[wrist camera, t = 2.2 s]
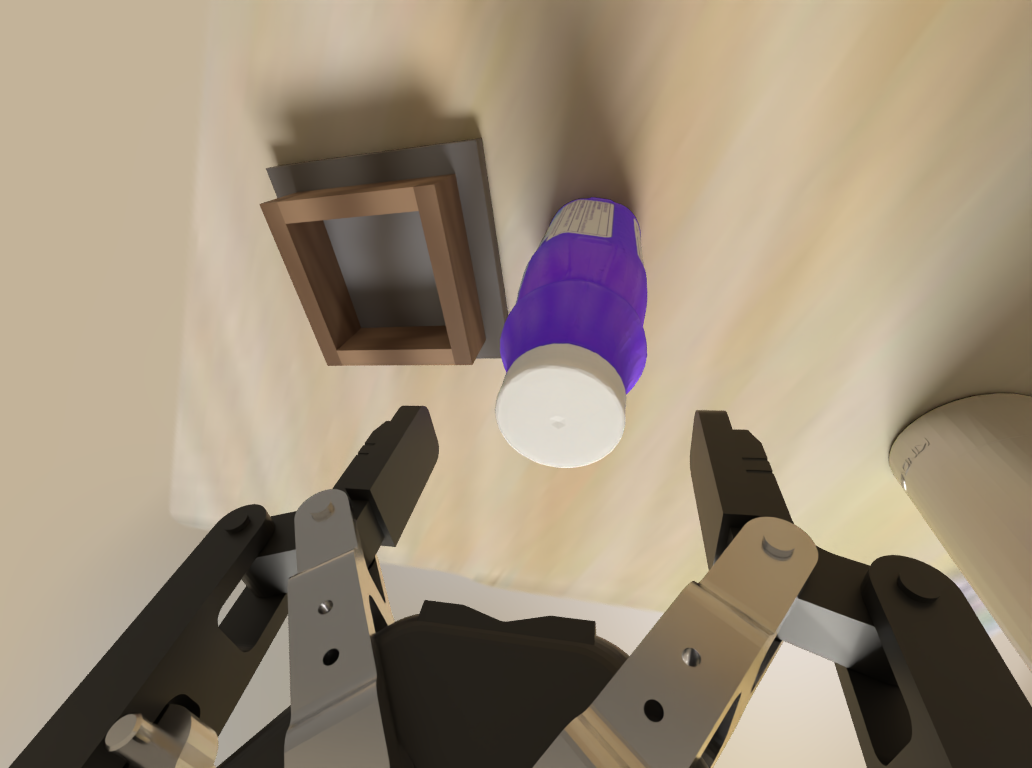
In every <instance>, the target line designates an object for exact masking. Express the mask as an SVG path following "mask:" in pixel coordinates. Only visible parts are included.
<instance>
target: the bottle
mask: <svg viewBox="0 0 1032 768" xmlns="http://www.w3.org/2000/svg"><path fill="white" fill-rule="evenodd" d="M646 306H647V278H646V272H645V269H644V264H643V256H642V247H641V233H640V227H639V224H638V221H637V219H636V217H635V216H634V214H633V213H632V212H631V211H630V210H629V209H628V208H627V207H625V206H623V205H621V204H619V203H615V202H613V201H612V200H609V199H602V198H595V197H591V198H587V199H576V200H574V201H571V202H569V203H567V204H566V205H564V206H563V207H562V208H561V209H560V210H559V211H558V212H557V213H556V215H555V216H554V218H553V219H552V221H551V223H550V226H549V229H548V230H547V232H546V234H545V236H544V238H543V240H542V241H541V243H540V246H539V247H538V249H537V251H536V252H535V253H534V255H533V256H532V258H531V260H530V261H529V263H528V264H527V267H526V269H525V272H524V275H523V278H522V281H521V285H520V289H519V292H518V297H517V301H516V305H515V306H514V308H513V309H512V311H511V312H510V314H509V315H508V317H507V319H506V322H505V324H504V327H503V330H502V334H501V338H500V354H501V358H502V361H503V364H504V368H505V370H506V372H507V373H506V375H505V378H504V381H503V384H502V386H501V389H500V391H499V393H498V396H497V400H496V407H495V414H496V420H497V424H498V427H499V429H500V431H501V433H502V434H503V436H504V438H505V439H506V441H507V442H508V443H509V444H510V445H511V446H512V447H513V448H514V449H515V450H516V451H518V452H519V453H520V454H522V455H523V456H525V457H526V458H528V459H531V460H533V461H535V462H537V463H540V464H543V465H547V466H553V467H560V468H573V467H580V466H585V465H589V464H591V463H594V462H596V461H598V460H600V459H602V458H603V457H605V456H606V455H607V454H609V453H610V452H611V451H612V450H613V449H614V448H615V447H616V445H617V444H618V443H619V441H620V439H621V437H622V435H623V432H624V428H625V409H626V394H627V393H628V392H629V391H630V390H631V389H632V388H633V387H634V385H635V384H636V382H637V381H638V379H639V378H640V376H641V375H642V372H643V369H644V367H645V363H646V358H647V343H646V338H645V333H644V329H643V323H644V318H645V312H646Z"/></svg>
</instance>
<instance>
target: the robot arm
mask: <svg viewBox="0 0 1032 768" xmlns="http://www.w3.org/2000/svg"><path fill="white" fill-rule="evenodd" d="M438 454H439V445H438V440H437V437H436V434H435V430H434V427H433V424H432V420H431V417H430V414H429V411H428V409H427V407H425V406H401V407H400V408H399V409H398V411H397V412H396V414H395V415H394V417H393V418H392V420H391V421H386V422H384V423H383V424H382V425H381V426H379V427H378V428H377V429H376V430H374V431H373V432H372V434H371V435H370V436H369V438H368V439H367V441H366V442H365V445H363V446H362V448H361V449H360V451H359V452H358V455H356V456H355V458H354V459H353V460H352V462H351V463H350V465H349V466H348V467H347V469H346V470H345V472H344V473H343V475H342V476H341V477H340V479H339V480H338V482H337V483H336V484H335V486H334V487H333V489H329V490H324V491H321V492H319V493H317V494H314V495H313V496H311V497H310V498H308V499H307V500H306V501H305V502H303V503H302V505H301V506H300V507H299V508H298V510H297V511H295V512H290V513H285V514H280V515H276V516H271V517H270V516H269V514H268V512H267V511H266V509H265V508H264V507H263V506H261V505H256V504H252V505H246V506H243V507H240V508H238V509H236V510H234V511H232V512H230V513H228V514H227V515H226V516H224V517H223V518H222V519H221V520H220V521H219V522H218V523H217V524H216V525H215V526H214V527H213V528H212V529H211V531H210V532H209V533H208V534H207V535H206V537H205V538H204V539H203V540H202V541H201V543H200V544H199V545H198V546H197V547H196V548H195V549H194V551H193V552H192V553H191V554H190V556H188V558H187V559H186V560H185V561H184V562H183V564H182V565H181V566H180V567H179V568H178V569H177V571H176V572H175V573H174V574H173V575H172V576H171V578H170V579H169V580H168V581H167V582H166V584H165V585H164V586H163V587H162V588H161V589H160V591H159V592H158V593H157V594H156V595H155V596H154V598H153V599H152V600H151V601H150V602H149V603H148V605H147V606H146V607H145V608H144V609H143V611H142V612H141V613H140V614H139V615H138V616H137V618H136V619H135V620H134V621H133V622H132V623H131V625H130V626H129V627H128V628H127V629H126V631H125V632H124V633H123V634H122V635H121V636H120V638H119V639H118V640H117V641H116V642H115V643H114V645H113V646H112V647H111V648H110V650H108V652H107V653H106V654H105V655H104V656H103V657H102V659H101V660H100V661H99V662H98V663H97V665H96V666H95V667H94V668H93V669H92V670H91V672H90V673H89V674H88V675H87V676H86V678H85V679H84V680H83V681H82V682H81V683H80V684H79V686H78V687H77V688H76V689H75V690H74V692H73V693H72V694H71V695H70V696H69V697H68V699H67V700H66V701H65V702H64V703H63V704H62V706H61V707H60V708H59V709H58V710H57V712H56V713H55V714H54V715H53V716H52V717H51V719H50V720H49V721H48V722H47V723H46V724H45V726H44V727H43V728H42V729H41V730H40V732H39V733H38V734H37V735H36V736H35V737H34V738H33V740H32V741H31V742H30V743H29V744H28V746H27V747H26V748H25V749H24V750H23V751H22V753H21V754H20V755H19V756H18V757H17V758H16V760H15V761H14V762H13V763H12V764H11V766H10V767H9V768H713V767H714V765H715V763H716V762H717V760H718V758H719V756H720V755H721V753H722V751H723V749H724V748H725V746H726V744H727V742H728V741H729V739H730V737H731V735H732V734H733V732H734V730H735V728H736V726H737V724H738V722H739V720H740V718H741V716H742V714H743V712H744V710H745V708H746V706H747V704H748V702H749V700H750V698H751V697H752V695H753V693H754V691H755V690H756V688H757V686H758V685H759V683H760V681H761V680H762V678H763V676H764V674H765V673H766V671H767V669H768V667H769V666H770V664H771V662H772V660H773V659H774V657H775V655H776V654H777V652H778V650H779V648H780V647H781V645H782V643H783V641H785V642H788V643H790V644H792V645H795V646H797V647H799V648H802V649H804V650H807V651H809V652H812V653H814V654H816V655H819V656H821V657H823V658H826V659H828V660H831V661H833V662H834V663H835V666H836V670H837V673H838V676H839V679H840V682H841V686H842V689H843V692H844V695H845V698H846V701H847V705H848V708H849V711H850V714H851V718H852V721H853V724H854V727H855V730H856V733H857V737H858V740H859V743H860V746H861V750H862V753H863V756H864V759H865V762H866V766H867V768H1032V707H1031V705H1030V703H1029V702H1028V700H1027V698H1026V697H1025V695H1024V694H1023V692H1022V690H1021V689H1020V687H1019V685H1018V684H1017V682H1016V680H1015V679H1014V677H1013V675H1012V674H1011V672H1010V670H1009V669H1008V667H1007V666H1006V664H1005V662H1004V660H1003V659H1002V657H1001V655H1000V654H999V652H998V651H997V649H996V647H995V646H994V644H993V642H992V641H991V639H990V637H989V636H988V634H987V632H986V631H985V629H984V627H983V626H982V624H981V622H980V621H979V619H978V617H977V616H976V614H975V612H974V611H973V609H972V607H971V606H970V604H969V602H968V601H967V599H966V598H965V596H964V594H963V593H962V591H961V590H960V589H959V588H958V586H957V585H956V584H955V583H954V582H953V581H952V580H950V579H949V578H948V577H947V576H946V575H944V574H943V573H942V572H940V571H939V570H937V569H935V568H934V567H932V566H930V565H928V564H926V563H924V562H921V561H919V560H916V559H913V558H909V557H905V556H899V555H888V556H883V557H880V558H878V559H876V560H875V561H874V562H873V563H872V564H871V566H869V565H866V564H863V563H860V562H857V561H853V560H850V559H847V558H844V557H841V556H838V555H835V554H832V553H829V552H827V551H825V550H823V549H821V548H819V547H818V546H816V545H815V543H814V542H813V540H812V539H811V538H810V536H809V535H808V534H807V533H806V532H804V531H803V530H802V529H801V528H799V527H798V526H796V525H794V523H793V521H792V519H791V516H790V514H789V511H788V509H787V506H786V504H785V501H784V499H783V496H782V494H781V491H780V489H779V486H778V484H777V481H776V479H775V476H774V474H772V469H771V466H770V463H769V461H767V456H766V453H765V451H764V448H763V446H762V443H761V442H760V441H759V440H758V439H757V438H755V437H754V436H753V435H752V434H751V433H750V432H749V431H748V430H732V427H731V424H730V421H729V417H728V415H727V412H726V411H709V410H697V411H696V412H695V417H694V425H693V433H692V442H691V450H690V470H691V477H692V482H693V487H694V493H695V498H696V504H697V509H698V514H699V520H700V525H701V530H702V536H703V541H704V547H705V552H706V557H707V563H708V568H709V571H708V573H707V574H706V575H705V577H704V578H703V579H702V580H701V581H700V582H699V583H697V582H695V581H692V582H691V583H689V584H688V585H687V586H686V587H685V588H684V589H683V590H682V592H681V593H680V594H679V595H678V597H677V598H676V599H675V600H674V602H673V603H672V604H671V605H670V607H669V608H668V609H667V610H666V612H665V613H664V614H663V615H662V617H661V618H660V619H659V620H658V622H657V623H656V624H655V625H654V627H653V628H652V629H651V630H650V632H649V633H648V634H647V635H646V637H645V638H644V639H643V640H642V642H641V643H640V644H639V645H638V647H637V648H636V649H635V650H634V652H633V653H632V654H631V655H630V656H629V655H628V654H627V653H625V652H624V651H623V650H621V649H620V648H619V647H617V646H616V645H614V644H612V643H611V642H609V641H607V640H605V639H603V638H601V637H598V636H596V626H595V625H596V624H595V621H588V620H580V619H571V618H564V617H556V616H546V617H538V618H531V619H524V620H516V621H509V622H503V621H499V620H497V619H495V618H492V617H490V616H488V615H486V614H483V613H481V612H479V611H476V610H474V609H472V608H470V607H467V606H465V605H459V604H451V603H443V602H436V601H428V600H425V601H424V603H423V606H422V609H421V611H420V614H416V615H412V616H409V617H405V618H403V619H400V620H399V621H396V622H395V621H394V618H393V615H392V612H391V608H390V604H389V600H388V596H387V592H386V588H385V584H384V580H383V576H382V572H381V568H380V564H379V560H378V557H377V555H376V553H377V551H378V550H379V548H380V546H392V547H396V545H397V543H398V541H399V539H400V537H401V534H402V532H403V530H404V528H405V526H406V524H407V522H408V520H409V518H410V516H411V514H412V512H413V510H414V508H415V505H416V503H417V501H418V499H419V497H420V495H421V493H422V491H423V489H424V487H425V485H426V483H427V481H428V479H429V476H430V474H431V472H432V470H433V468H434V466H435V464H436V462H437V459H438ZM889 463H890V468H891V470H892V472H893V475H894V476H895V478H896V479H897V480H898V482H899V483H900V485H901V486H902V488H903V489H904V490H905V492H906V493H907V495H908V496H909V498H910V499H911V500H912V502H913V503H914V505H915V506H916V508H917V509H918V511H919V512H920V513H921V515H922V517H923V518H924V520H925V521H926V522H927V524H928V525H929V527H930V528H931V530H932V531H933V532H934V534H935V535H936V537H937V538H938V540H939V541H940V542H941V544H942V545H943V547H944V548H945V550H946V551H947V552H948V554H949V555H950V557H951V558H952V560H953V561H954V562H955V564H956V565H957V567H958V568H959V570H960V571H961V572H962V574H963V575H964V577H965V578H966V580H967V581H968V583H969V584H970V585H971V587H972V588H973V590H974V591H975V593H976V594H977V595H978V597H979V598H980V600H981V601H982V603H983V604H984V605H985V607H986V608H987V610H988V611H989V613H990V614H991V615H992V617H993V618H994V620H995V621H996V623H997V624H998V625H999V627H1000V628H1001V630H1002V631H1003V633H1004V634H1005V635H1006V637H1007V638H1008V640H1009V641H1010V643H1011V644H1012V645H1013V647H1014V648H1015V650H1016V651H1017V653H1018V654H1019V655H1020V657H1021V658H1022V660H1023V661H1024V663H1025V664H1026V665H1027V667H1028V668H1029V670H1030V671H1031V672H1032V397H1031V396H1025V395H1020V394H1000V393H995V394H987V395H978V396H973V397H969V398H965V399H960V400H956V401H954V402H951V403H948V404H946V405H943V406H940V407H938V408H936V409H934V410H932V411H930V412H928V413H926V414H924V415H922V416H921V417H920V418H918V419H917V420H915V421H914V422H913V423H911V424H910V425H909V426H908V427H907V428H906V429H905V430H904V431H903V432H902V433H901V434H900V435H899V436H898V437H897V439H896V441H895V442H894V444H893V445H892V448H891V452H890V455H889ZM241 579H242V581H243V582H244V583H245V584H246V588H245V589H244V590H243V592H242V593H241V595H240V596H239V598H238V599H237V601H236V602H235V603H234V605H233V606H232V608H231V609H230V611H229V612H228V614H227V615H226V617H225V618H224V620H223V621H222V622H221V624H220V625H219V627H218V615H219V612H220V609H221V608H222V606H223V605H224V603H225V602H226V600H227V599H228V597H229V596H230V595H231V593H232V592H233V590H234V589H235V587H236V586H237V585H238V583H239V582H240V580H241ZM287 615H288V624H289V659H290V696H291V705H290V706H289V707H288V708H287V709H285V710H284V711H283V712H282V713H281V714H279V715H278V716H277V717H276V718H275V719H274V720H272V721H271V722H270V723H269V724H268V725H267V726H265V727H264V728H263V729H262V730H261V731H259V732H258V733H257V734H256V735H255V736H253V737H252V738H251V739H250V740H249V741H248V742H246V743H245V744H244V745H243V746H241V747H240V748H239V749H238V750H237V751H236V752H234V753H233V754H232V755H231V756H230V757H228V758H227V759H226V760H225V761H224V762H223V763H222V764H220V765H219V766H218V767H215V765H214V762H215V759H216V756H217V751H218V736H219V734H220V733H221V731H222V729H223V727H224V726H225V724H226V722H227V720H228V719H229V717H230V715H231V713H232V712H233V710H234V708H235V706H236V705H237V703H238V701H239V699H240V698H241V696H242V694H243V692H244V690H245V689H246V687H247V685H248V683H249V682H250V680H251V678H252V676H253V675H254V673H255V671H256V669H257V668H258V666H259V664H260V662H261V661H262V659H263V657H264V655H265V654H266V652H267V650H268V648H269V646H270V645H271V643H272V641H273V639H274V638H275V636H276V634H277V632H278V631H279V629H280V627H281V625H282V624H283V622H284V620H285V618H286V617H287Z"/></svg>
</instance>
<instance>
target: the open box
mask: <svg viewBox="0 0 1032 768" xmlns="http://www.w3.org/2000/svg"><path fill="white" fill-rule="evenodd" d="M266 170H267V173H268V175H269V178H270V180H271V183H272V185H273V188H274V190H275V193H276V195H277V199H274V200H271V201H268V202H265V203H262V204H260V206H261V209H262V211H263V214H264V216H265V218H266V221H267V223H268V225H269V228H270V230H271V233H272V235H273V237H274V240H275V242H276V244H277V247H278V249H279V251H280V254H281V256H282V259H283V261H284V263H285V266H286V268H287V270H288V273H289V275H290V278H291V280H292V282H293V285H294V287H295V289H296V292H297V294H298V296H299V299H300V301H301V304H302V306H303V308H304V311H305V313H306V315H307V318H308V320H309V322H310V325H311V327H312V330H313V332H314V334H315V337H316V339H317V341H318V344H319V346H320V349H321V351H322V353H323V356H324V358H325V360H326V363H327V365H328V366H343V365H473V363H474V361H475V359H476V358H501V354H500V338H501V334H502V330H503V327H504V324H505V322H506V319H507V317H508V311H507V304H506V298H505V291H504V284H503V278H502V271H501V264H500V257H499V251H498V244H497V237H496V231H495V224H494V217H493V210H492V204H491V197H490V190H489V184H488V177H487V170H486V164H485V157H484V150H483V143H482V138H478V139H471V140H464V141H456V142H449V143H442V144H434V145H427V146H420V147H412V148H405V149H398V150H390V151H383V152H376V153H368V154H361V155H354V156H346V157H339V158H332V159H324V160H317V161H309V162H302V163H295V164H287V165H280V166H275V167H270V168H266Z"/></svg>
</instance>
